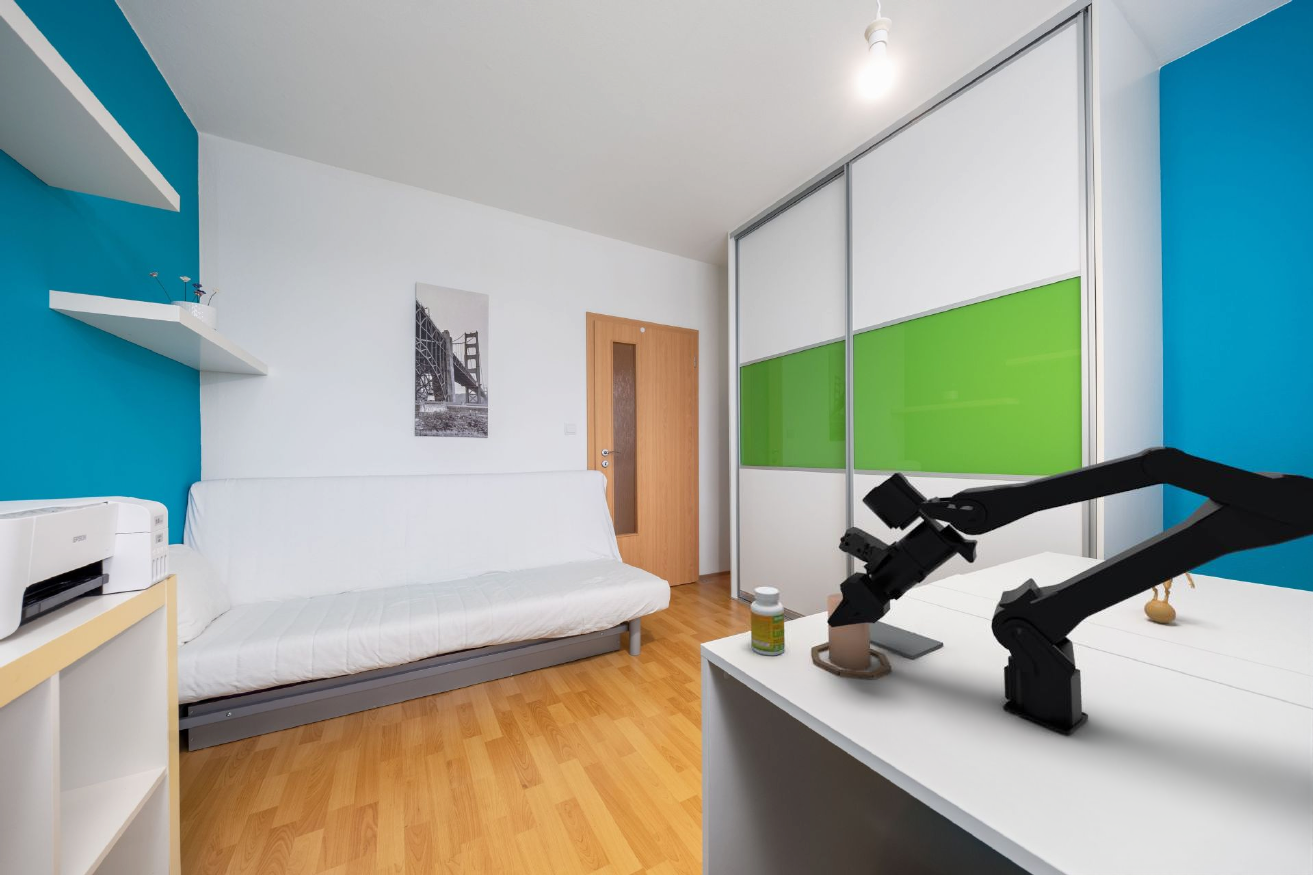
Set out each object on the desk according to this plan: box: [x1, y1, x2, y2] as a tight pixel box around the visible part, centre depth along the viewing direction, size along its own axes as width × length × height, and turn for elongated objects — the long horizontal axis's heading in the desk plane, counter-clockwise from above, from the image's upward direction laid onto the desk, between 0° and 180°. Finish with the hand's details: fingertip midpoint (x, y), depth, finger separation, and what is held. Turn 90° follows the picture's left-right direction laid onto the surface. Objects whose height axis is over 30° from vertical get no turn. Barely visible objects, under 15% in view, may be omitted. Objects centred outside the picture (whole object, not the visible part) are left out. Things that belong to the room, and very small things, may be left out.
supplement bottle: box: [750, 586, 786, 656], centre depth 76 cm, size 5×5×10 cm
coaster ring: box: [810, 641, 892, 680], centre depth 72 cm, size 11×11×1 cm
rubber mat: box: [870, 620, 944, 660], centre depth 79 cm, size 12×9×1 cm
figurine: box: [1143, 571, 1196, 624], centre depth 86 cm, size 8×6×12 cm
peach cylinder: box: [827, 593, 872, 671], centre depth 72 cm, size 6×6×10 cm
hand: (839, 615), depth 73 cm, fingers open, 9 cm apart
